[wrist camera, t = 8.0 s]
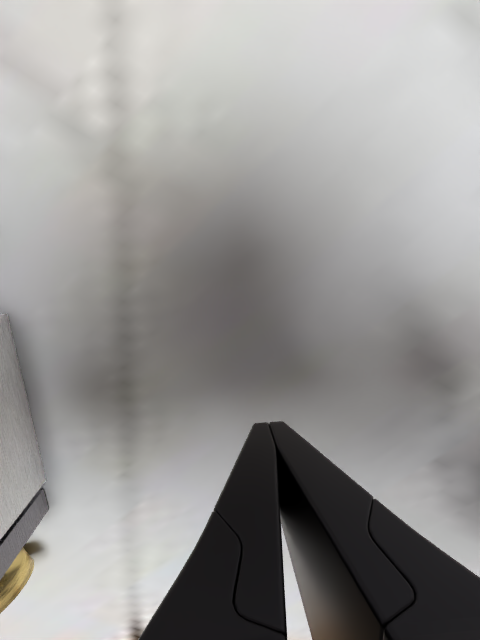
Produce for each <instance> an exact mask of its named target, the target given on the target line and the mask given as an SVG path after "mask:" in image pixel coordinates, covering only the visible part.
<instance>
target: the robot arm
mask: <svg viewBox="0 0 480 640" xmlns="http://www.w3.org/2000/svg"><path fill="white" fill-rule="evenodd" d="M281 524H282V528H283V531H284V535H285V539H286V542H287V546H288V550H289V554H290V557H291V561H292V565H293V569H294V572H295V576H296V580H297V584H298V587H299V591H300V595H301V599H302V602H303V606H304V610H305V613H306V617H307V621H308V625H309V628H310V632H311V636H312V640H480V577H478V576H477V575H475V574H474V573H473V572H471V571H470V570H468V569H467V568H466V567H464V566H463V565H461V564H460V563H459V562H457V561H456V560H454V559H453V558H452V557H450V556H449V555H447V554H446V553H445V552H443V551H442V550H440V549H439V548H438V547H436V546H435V545H434V544H432V543H431V542H430V541H428V540H427V539H426V538H424V537H423V536H422V535H420V534H419V533H417V532H416V531H415V530H413V529H412V528H411V527H410V526H408V525H407V524H406V523H405V522H403V521H402V520H401V519H400V518H398V517H397V516H396V515H395V514H393V513H392V512H391V511H390V510H389V509H387V508H386V507H385V506H384V505H383V504H381V503H380V502H379V501H378V500H377V499H373V496H372V495H370V494H369V493H368V492H367V491H366V490H364V489H363V488H362V487H361V486H360V485H358V484H357V483H356V482H355V481H354V480H352V479H351V478H350V477H349V476H348V475H347V474H345V473H344V472H343V471H342V470H341V469H339V468H338V467H337V466H336V465H335V464H333V463H332V462H331V461H330V460H329V459H327V458H326V457H325V456H324V455H323V454H321V453H320V452H319V451H318V450H317V449H315V448H314V447H313V446H312V445H311V444H310V443H308V442H307V441H306V440H305V439H304V438H302V437H301V436H300V435H299V434H298V433H296V432H295V431H294V430H293V429H292V428H290V427H289V426H288V425H287V424H286V423H284V422H282V421H279V422H270V423H269V424H268V423H266V422H265V423H255V424H254V425H253V426H252V429H251V431H250V433H249V435H248V437H247V439H246V441H245V444H244V446H243V448H242V450H241V452H240V454H239V456H238V459H237V461H236V463H235V465H234V467H233V469H232V471H231V474H230V476H229V478H228V480H227V482H226V484H225V486H224V489H223V491H222V493H221V495H220V497H219V499H218V501H217V504H216V506H215V508H214V511H213V512H212V514H211V516H210V518H209V520H208V522H207V525H206V527H205V529H204V531H203V533H202V535H201V536H200V538H199V540H198V542H197V544H196V546H195V548H194V550H193V552H192V553H191V555H190V557H189V558H188V560H187V562H186V564H185V565H184V567H183V569H182V570H181V572H180V574H179V575H178V577H177V579H176V580H175V582H174V583H173V585H172V587H171V588H170V590H169V591H168V593H167V595H166V596H165V598H164V599H163V601H162V603H161V604H160V606H159V607H158V609H157V611H156V612H155V614H154V615H153V617H152V619H151V620H150V622H149V623H148V625H147V627H146V628H145V630H144V631H143V633H142V635H141V636H140V638H139V639H138V640H287V627H286V609H285V591H284V573H283V555H282V537H281Z"/></svg>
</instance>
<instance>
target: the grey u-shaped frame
mask: <svg viewBox="0 0 480 640" xmlns="http://www.w3.org/2000/svg"><path fill="white" fill-rule="evenodd" d="M48 510H49V508H48V504H47V500H46V497H45V493H44V489H39V490H38V492H37V493H36V494H35V496H34V497H33V498H32V499H31V501H30V502H29V503H28V505H27V506H26V507H25V508H24V510H23V511H22V512H21V514H20V515H19V516H18V518H17V519H16V520H15V521H14V523H13V524H12V525H11V527H10V528H9V529H8V530H7V532H6V533H5V534H4V536H3V537H2V538H1V540H0V580H1V579H2V577H3V576H4V574H5V573H6V571H7V570H8V568H9V567H10V565H11V564H12V562H13V561H14V560H15V558H16V557H17V555H18V554H19V552H20V551H21V549H22V548H23V546H24V545H25V543H26V542H27V540H28V539H29V537H30V536H31V535H32V533H33V532H34V530H35V529H36V527H37V526H38V524H39V523H40V521H41V520H42V518H43V517H44V515H45V514H46V513H47V511H48Z"/></svg>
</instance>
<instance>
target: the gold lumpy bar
mask: <svg viewBox="0 0 480 640" xmlns="http://www.w3.org/2000/svg"><path fill="white" fill-rule="evenodd" d="M33 568H34V560H33V559H32V558H31V556H30V555H29V554H28V553H27V552H26V550H25V549H24V548H22V549H21V551H20V552H19V554H18V555H17V557H16V558H15V560H14V561H13V562H12V564H11V565H10V567H9V568H8V570H7V571H6V573H5V574H4V576H3V577H2V579H1V580H0V613H1V612H2V611H3V610H4V609H5V608H6V607H7V606H8V605H9V604H10V603H11V602H12V601H13V600H14V599H15V598H16V596H17V595H18V594H19V593H20V591H21V590H22V589H23V587H24V586H25V584H26V583H27V581H28V580H29V578H30V576H31V574H32V571H33Z"/></svg>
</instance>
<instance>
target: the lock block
mask: <svg viewBox="0 0 480 640" xmlns="http://www.w3.org/2000/svg"><path fill="white" fill-rule="evenodd" d="M45 481H46V476H45V471H44V467H43V463H42V459H41V454H40V450H39V446H38V441H37V437H36V433H35V429H34V424H33V420H32V416H31V412H30V407H29V403H28V399H27V395H26V390H25V386H24V382H23V377H22V373H21V369H20V365H19V360H18V356H17V352H16V348H15V343H14V339H13V335H12V330H11V326H10V322H9V318H8V314H0V540H1V538H2V537H3V536H4V534H5V533H6V532H7V530H8V529H9V528H10V527H11V525H12V524H13V523H14V521H15V520H16V519H17V518H18V516H19V515H20V514H21V512H22V511H23V510H24V508H25V507H26V506H27V505H28V503H29V502H30V501H31V499H32V498H33V497H34V496H35V494H36V493H37V492H38V490H39V489H40V488H41V487H42V485H43V484H44V483H45Z"/></svg>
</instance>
